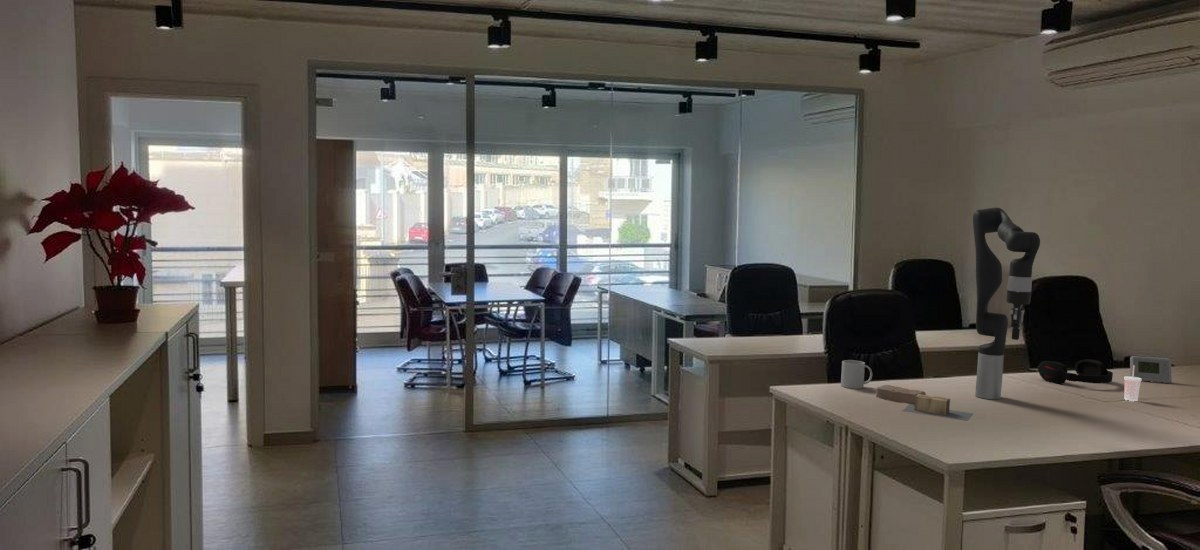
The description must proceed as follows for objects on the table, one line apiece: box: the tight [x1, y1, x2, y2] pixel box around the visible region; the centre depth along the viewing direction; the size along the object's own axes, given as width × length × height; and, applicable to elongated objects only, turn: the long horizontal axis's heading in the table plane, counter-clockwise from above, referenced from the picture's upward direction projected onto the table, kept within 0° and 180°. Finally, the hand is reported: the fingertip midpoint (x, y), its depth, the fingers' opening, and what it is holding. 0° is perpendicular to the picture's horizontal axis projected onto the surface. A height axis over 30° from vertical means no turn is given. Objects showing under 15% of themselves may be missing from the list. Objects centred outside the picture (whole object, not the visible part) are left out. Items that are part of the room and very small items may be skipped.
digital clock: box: [1129, 355, 1173, 384], centre depth 391 cm, size 16×9×11 cm, turn 62°
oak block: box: [914, 394, 951, 415], centre depth 318 cm, size 5×5×11 cm
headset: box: [1037, 358, 1114, 385], centre depth 384 cm, size 30×28×9 cm
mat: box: [901, 403, 974, 422], centre depth 317 cm, size 13×22×1 cm, turn 59°
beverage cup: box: [1123, 365, 1142, 402], centre depth 349 cm, size 6×6×14 cm
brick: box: [875, 384, 927, 405], centre depth 337 cm, size 17×8×5 cm, turn 42°
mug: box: [840, 359, 873, 390], centre depth 357 cm, size 11×10×10 cm
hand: (1015, 339), depth 306 cm, fingers closed
